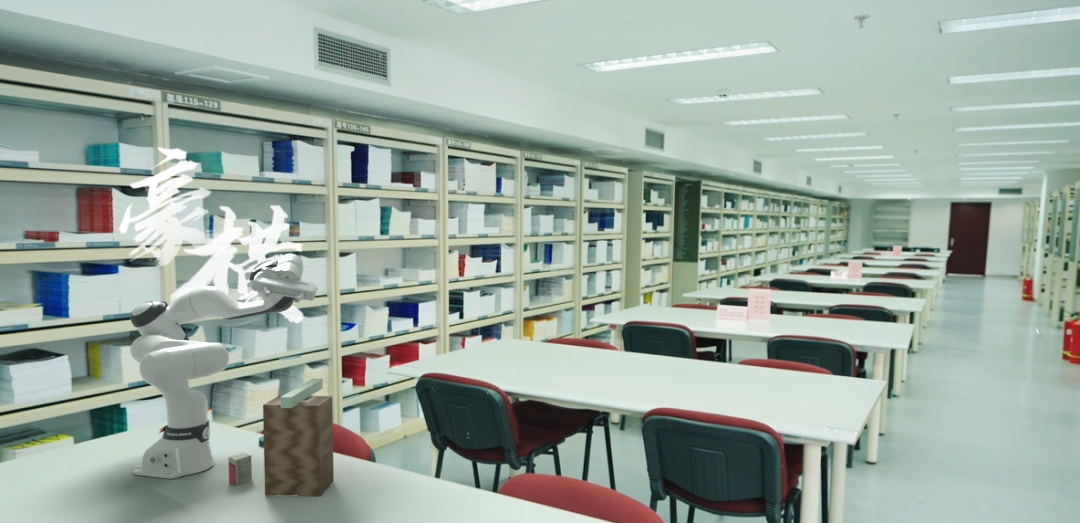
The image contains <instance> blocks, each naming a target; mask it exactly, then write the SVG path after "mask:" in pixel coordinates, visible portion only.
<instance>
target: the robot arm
mask: <svg viewBox="0 0 1080 523" xmlns="http://www.w3.org/2000/svg"><path fill="white" fill-rule="evenodd" d="M303 272H304V262H303V259H302V258H301V256H299V255H298V254H294V253H286V254H284V255H282V256H280V258H279V259H278V260H276V259H274V260H273V259H272V260H271V259H270V260H266V261H263V262H261V263H259V264H257V265H256V266H255V267H254V268H253V269H252V270H251V272H250V274H249V278H248V279H249V282H250V283H251V290H252V291H254V292H257V294H258V295H259V296H260V298H261V300H255V301H251V302H240V301H238V300H237V299H234V298H233V297H232V296H230V295H229V294H228V293H226V292H225V291H224V290H223V289H220V288H219V287H215V286H213V285H206V286H201V287H199V288H196V289H193V290H191V291H188V292H185V293H183V294H182V295H180V296H178V297H176V298H174V299H173V300H172V301H171V302H170V303H169V302H167V301H159V300H149V301H146V302H144V303H141V304H139V305H138V306H137V307H136V308H134V309H133V310H132V311H131V313H130V315H129V320H130V322H131V324H132V325H133V327H134V328H136V329H137V331H138V333H139V334H140V335H141V336H138V337H137V338H136V339H134V340H133V342H132V344H131V346H130V355H131V357H132V358H133V359H134V360H135V362H136V363H138V364H139V374H140V376H141V378H142V379H143V381H144V382H146V383H147V384H148V385H151V386H153V387H154V388H156V390H158V391H159V393H160V394H161V395H162V397H163V399H164V401H165V406H166V408H165V409H166V413H167V414H166V415H167V416H166V417H167V424H166V425H164V426H163V427H161V428H160V429H159V434H161V433H162V437H160V438H159V439H158V440H157V441H155V442H154V443H153V444H152V445H151V446H149V447H148V448H147V449H145V451H144V452H143V455H142V460H141V463H140V464H138V465H137V466H136V467H134V469H133V472H132V474H133V475H135V476H142V477H144V476H145V477H152V478H160V479H168V480H170V479H177V478H179V477H182V476H188V475H193V474H197V473H201V472H204V471H206V470H208V469H210V468H212V467H213V466H215V463H216V461H215V460H214V457H213V454H212V450H211V449H212V448H211V446H210V445H211V444H210V435H211V434H210V433H211V430H210V427H211V426H210V420H209V419H208V399H207V397H206V395H205V394H204V393H202V392H201V391H199V390H197V389H192V388H191V387H190V385H189V381H190V380H195V379H201V378H207V377H211V376H214V375H217V374H219V373H221V372H223V371H225V370H226V368H228V364H229V360H230V355H229V351H228V349H227V348H226V346H225V345H224V344H222V343H221V342H211V341H210V342H209V341H208V342H207V341H196V340H190V338H189V336H188V334H187V333H186V332H184V329H183V328H182V327H181V325H183V324H184V325H185V324H190V323H191V324H192V323H195V322H199V321H203V320H205V319H209V318H221V319H225V320H229V321H230V320H231V321H232V320H237V319H243V318H244V319H245V318H248V317H250V318H251V317H254V316H259V315H265V314H278V313H283V312H285V311H287V310H289V309H290V308H291V307H292V306H293V304H294V303H297V304H298V303H300V301H303V300H304V301H309V302H310V301H314V300H315V297H316V294H317V291H318V285H315V283H313V282H311V281H305V280H302V276H303Z"/></svg>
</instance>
